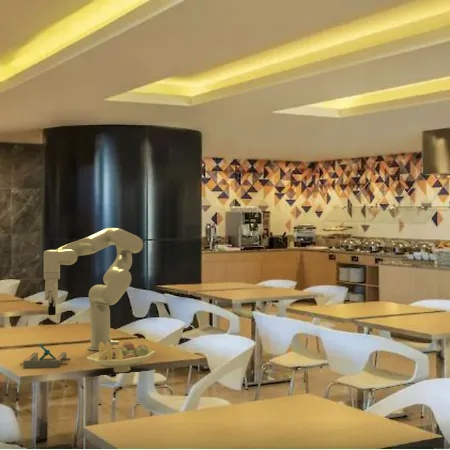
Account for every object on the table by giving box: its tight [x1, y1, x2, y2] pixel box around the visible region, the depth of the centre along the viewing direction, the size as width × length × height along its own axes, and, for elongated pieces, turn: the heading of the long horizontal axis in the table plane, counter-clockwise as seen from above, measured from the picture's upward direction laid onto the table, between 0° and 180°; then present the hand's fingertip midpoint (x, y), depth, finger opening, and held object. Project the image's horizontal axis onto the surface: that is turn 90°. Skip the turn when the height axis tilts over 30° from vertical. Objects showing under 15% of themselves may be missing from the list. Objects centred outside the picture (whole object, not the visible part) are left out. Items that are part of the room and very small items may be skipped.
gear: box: [38, 343, 57, 360], centre depth 341 cm, size 11×6×10 cm
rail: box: [20, 351, 71, 369], centre depth 336 cm, size 20×24×3 cm
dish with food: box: [86, 341, 156, 373], centre depth 315 cm, size 28×28×14 cm
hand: (51, 314), depth 354 cm, fingers closed
